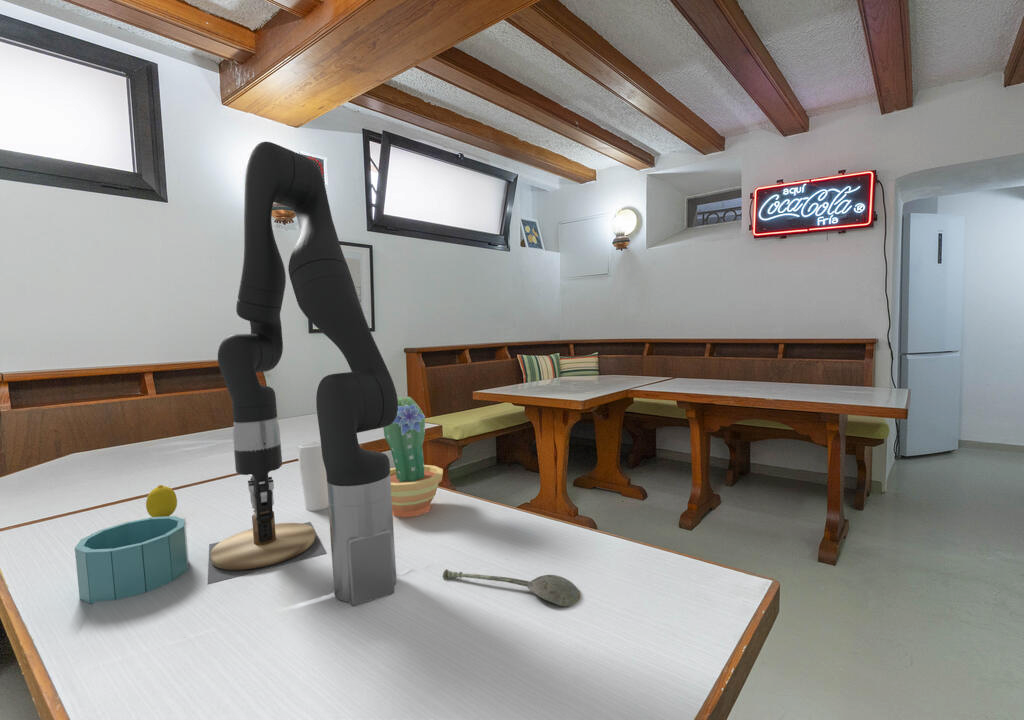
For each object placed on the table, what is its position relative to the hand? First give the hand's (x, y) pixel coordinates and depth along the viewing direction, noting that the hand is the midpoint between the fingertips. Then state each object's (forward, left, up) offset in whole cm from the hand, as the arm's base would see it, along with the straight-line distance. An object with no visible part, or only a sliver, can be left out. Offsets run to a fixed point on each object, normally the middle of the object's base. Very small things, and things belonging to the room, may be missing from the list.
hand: (264, 536), depth 89 cm
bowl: (+1, +19, -3) cm, 19 cm away
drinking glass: (+18, -12, -3) cm, 22 cm away
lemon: (+32, +18, -3) cm, 37 cm away
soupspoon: (-37, -30, -4) cm, 48 cm away
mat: (0, 0, -3) cm, 3 cm away
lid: (0, 0, -2) cm, 2 cm away
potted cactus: (+4, -29, -3) cm, 30 cm away
